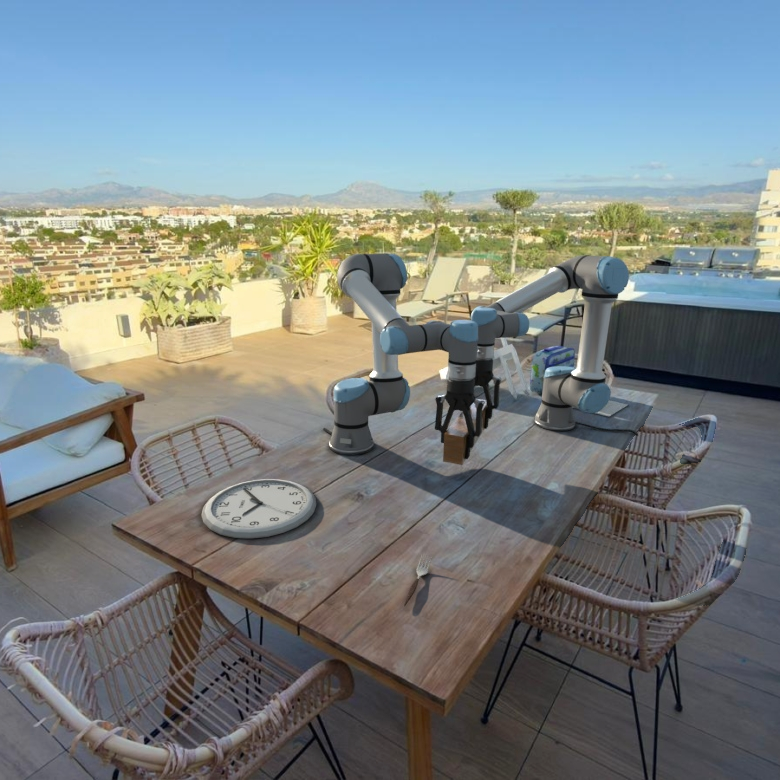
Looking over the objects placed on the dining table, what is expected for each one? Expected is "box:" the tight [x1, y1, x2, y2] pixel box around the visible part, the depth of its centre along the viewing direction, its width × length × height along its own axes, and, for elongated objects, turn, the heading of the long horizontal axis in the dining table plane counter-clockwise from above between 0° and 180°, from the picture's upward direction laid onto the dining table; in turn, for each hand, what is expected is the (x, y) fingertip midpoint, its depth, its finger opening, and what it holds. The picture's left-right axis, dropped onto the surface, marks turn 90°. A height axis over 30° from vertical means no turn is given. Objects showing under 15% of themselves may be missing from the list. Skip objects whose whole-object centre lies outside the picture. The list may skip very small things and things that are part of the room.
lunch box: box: [529, 345, 576, 394], centre depth 244 cm, size 26×11×21 cm, turn 135°
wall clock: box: [201, 478, 317, 539], centre depth 141 cm, size 30×2×30 cm
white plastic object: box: [438, 337, 531, 400], centre depth 245 cm, size 37×45×31 cm
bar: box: [442, 398, 487, 466], centre depth 160 cm, size 34×6×8 cm, turn 158°
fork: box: [403, 554, 432, 607], centre depth 111 cm, size 3×16×2 cm, turn 160°
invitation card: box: [575, 399, 629, 418], centre depth 226 cm, size 21×1×15 cm
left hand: (456, 455), depth 150 cm, fingers closed on bar, 6 cm apart
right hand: (476, 425), depth 172 cm, fingers closed on bar, 5 cm apart
